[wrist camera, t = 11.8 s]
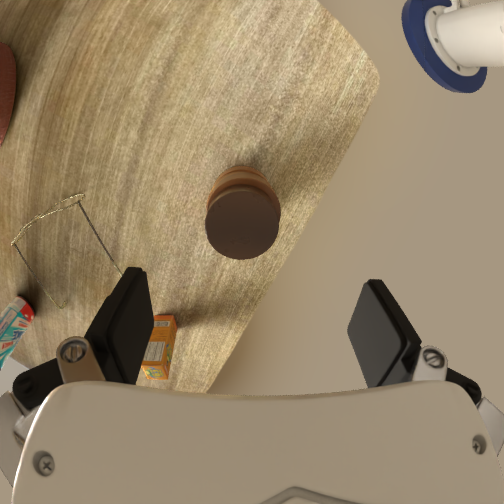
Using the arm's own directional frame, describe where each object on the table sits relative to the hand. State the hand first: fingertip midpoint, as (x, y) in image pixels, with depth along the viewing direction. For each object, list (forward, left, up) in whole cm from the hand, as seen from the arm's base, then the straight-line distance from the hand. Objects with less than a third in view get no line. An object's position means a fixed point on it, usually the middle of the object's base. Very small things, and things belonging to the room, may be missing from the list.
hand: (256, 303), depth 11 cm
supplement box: (+21, -10, -21) cm, 32 cm away
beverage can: (+23, -41, -21) cm, 52 cm away
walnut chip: (+1, 0, -14) cm, 14 cm away
